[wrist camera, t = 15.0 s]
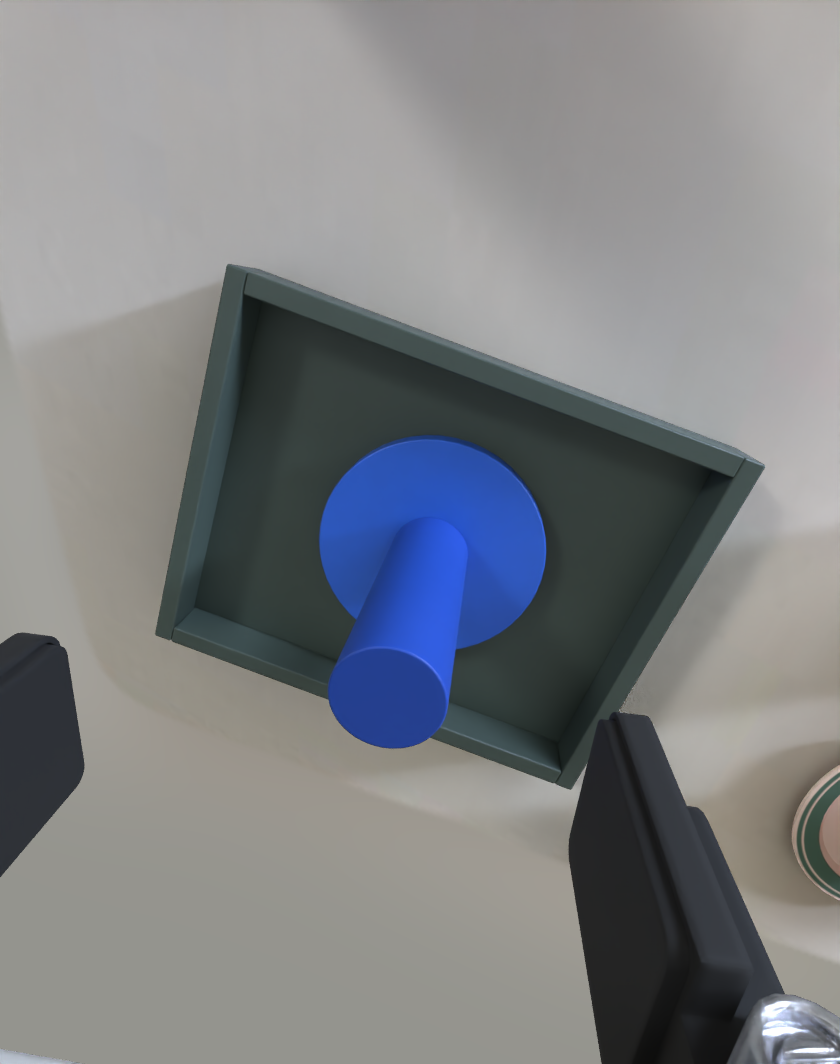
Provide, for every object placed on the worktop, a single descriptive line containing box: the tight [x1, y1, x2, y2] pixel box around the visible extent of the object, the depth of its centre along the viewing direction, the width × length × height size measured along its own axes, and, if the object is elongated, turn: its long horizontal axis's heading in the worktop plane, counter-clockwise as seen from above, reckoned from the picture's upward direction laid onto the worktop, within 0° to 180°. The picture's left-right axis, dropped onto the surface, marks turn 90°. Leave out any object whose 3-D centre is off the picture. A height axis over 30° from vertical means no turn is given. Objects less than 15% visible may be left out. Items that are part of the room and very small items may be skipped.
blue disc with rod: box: [319, 435, 546, 748], centre depth 15 cm, size 7×7×8 cm
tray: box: [155, 264, 765, 790], centre depth 19 cm, size 15×12×2 cm
